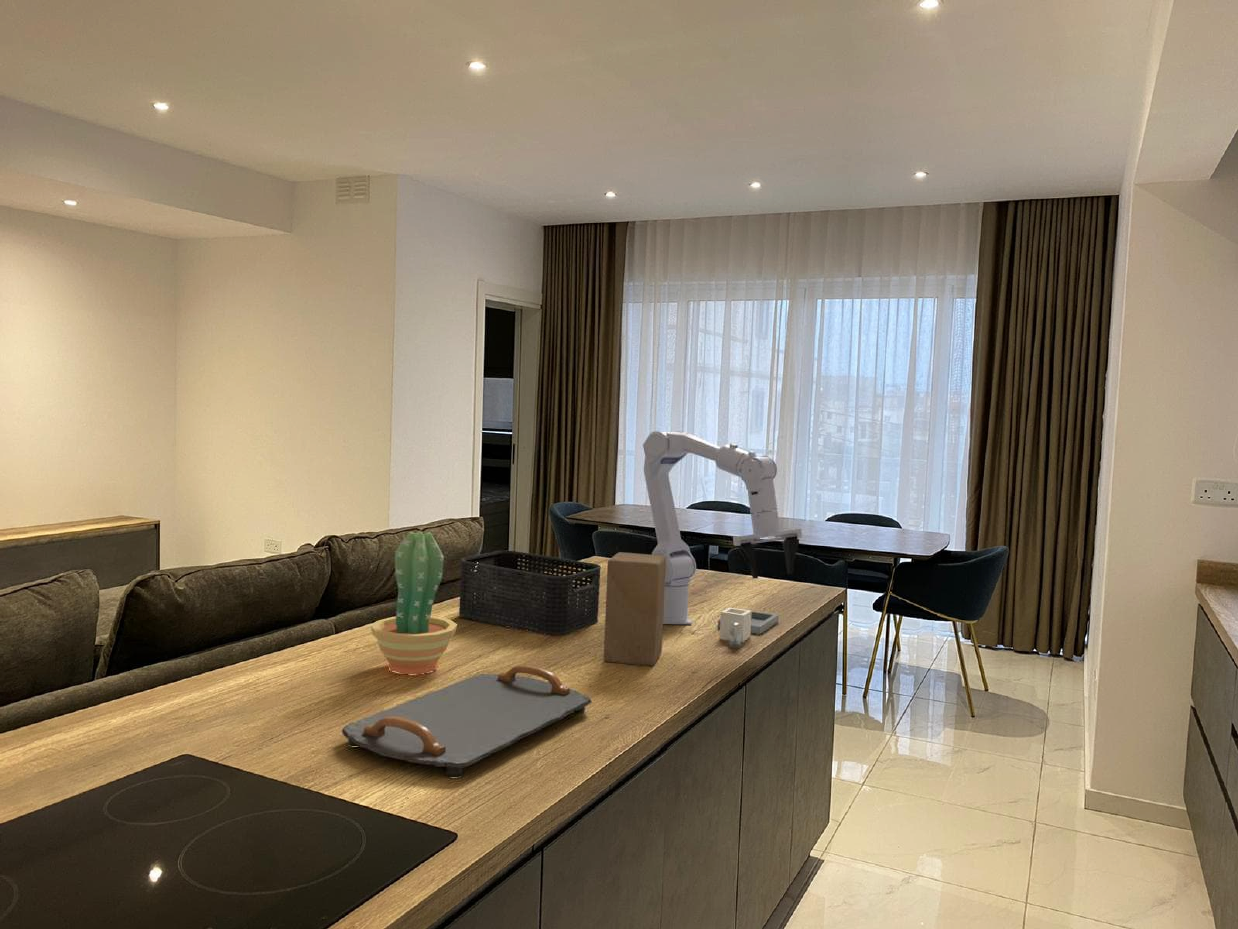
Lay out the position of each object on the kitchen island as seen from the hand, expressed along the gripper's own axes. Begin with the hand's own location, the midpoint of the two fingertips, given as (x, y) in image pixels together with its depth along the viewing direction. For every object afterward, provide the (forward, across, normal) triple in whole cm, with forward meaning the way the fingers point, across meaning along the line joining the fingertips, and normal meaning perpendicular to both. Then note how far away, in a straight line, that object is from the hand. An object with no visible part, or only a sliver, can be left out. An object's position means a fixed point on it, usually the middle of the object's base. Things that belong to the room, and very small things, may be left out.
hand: (772, 575), depth 193 cm
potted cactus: (+7, -74, -18) cm, 77 cm away
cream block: (+13, -8, +7) cm, 17 cm away
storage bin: (+4, -52, +21) cm, 56 cm away
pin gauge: (+14, -10, 0) cm, 17 cm away
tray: (+12, -2, +19) cm, 22 cm away
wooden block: (+12, -33, -9) cm, 36 cm away
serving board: (+14, -62, -47) cm, 79 cm away
